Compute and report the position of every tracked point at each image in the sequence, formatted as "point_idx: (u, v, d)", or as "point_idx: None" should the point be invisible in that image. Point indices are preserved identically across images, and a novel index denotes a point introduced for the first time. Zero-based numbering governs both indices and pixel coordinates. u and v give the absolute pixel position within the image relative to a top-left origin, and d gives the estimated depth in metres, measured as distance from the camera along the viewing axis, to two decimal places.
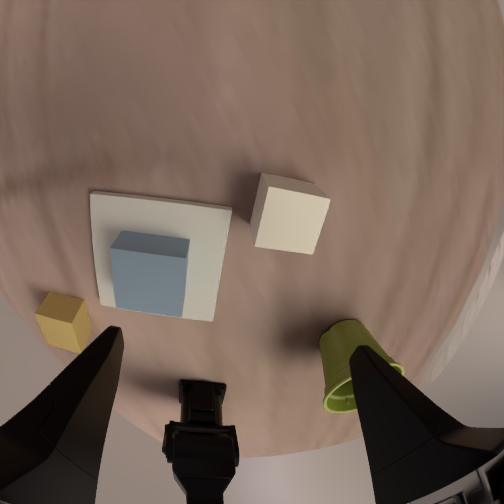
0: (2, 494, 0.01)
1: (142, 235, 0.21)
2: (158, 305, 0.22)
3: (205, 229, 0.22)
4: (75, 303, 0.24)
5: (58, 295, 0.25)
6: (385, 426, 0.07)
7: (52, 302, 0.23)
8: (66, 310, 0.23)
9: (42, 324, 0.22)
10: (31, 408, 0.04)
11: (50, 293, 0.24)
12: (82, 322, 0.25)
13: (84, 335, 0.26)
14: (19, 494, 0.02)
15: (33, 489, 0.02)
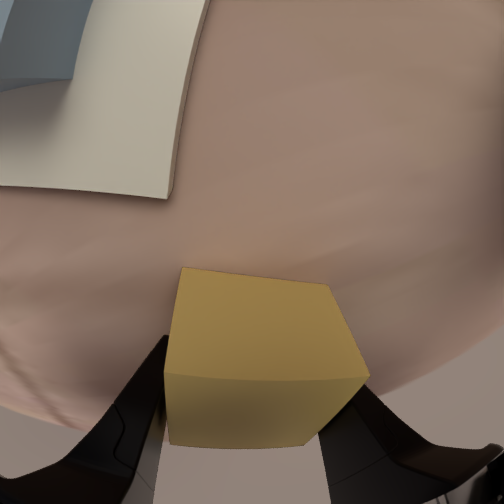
0: None
1: None
2: None
3: None
4: None
5: None
6: (339, 436, 0.07)
7: None
8: None
9: (211, 443, 0.07)
10: (99, 431, 0.04)
11: None
12: (253, 311, 0.07)
13: (311, 325, 0.07)
14: None
15: None
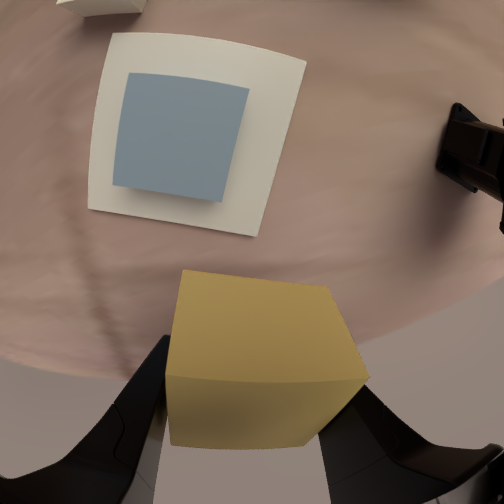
0: None
1: None
2: (219, 124, 0.12)
3: (133, 59, 0.12)
4: None
5: None
6: (339, 436, 0.07)
7: None
8: None
9: (211, 443, 0.07)
10: (99, 432, 0.04)
11: None
12: (253, 313, 0.07)
13: (311, 327, 0.07)
14: None
15: None
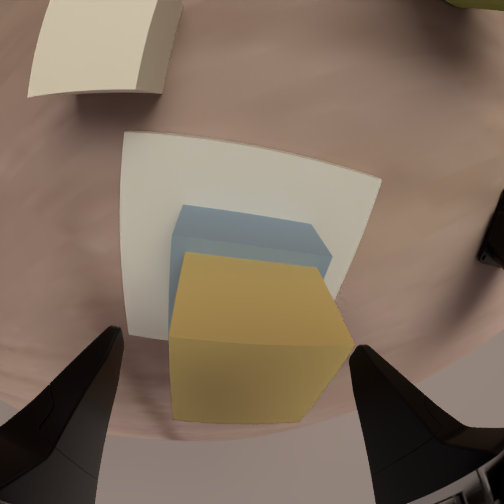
0: (2, 494, 0.01)
1: None
2: None
3: (161, 176, 0.11)
4: None
5: None
6: (385, 426, 0.07)
7: None
8: None
9: (211, 416, 0.08)
10: (31, 408, 0.04)
11: None
12: (248, 288, 0.08)
13: (300, 300, 0.08)
14: (19, 494, 0.02)
15: (33, 489, 0.02)
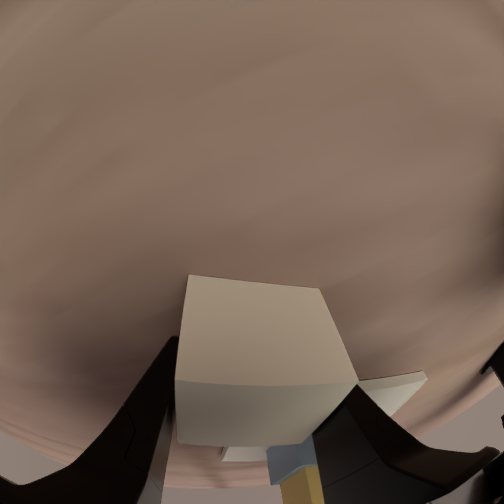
0: None
1: (273, 447, 0.15)
2: None
3: None
4: (303, 484, 0.11)
5: (287, 484, 0.13)
6: (332, 437, 0.07)
7: (288, 500, 0.12)
8: (302, 503, 0.10)
9: None
10: (109, 434, 0.04)
11: (282, 487, 0.13)
12: None
13: None
14: None
15: None
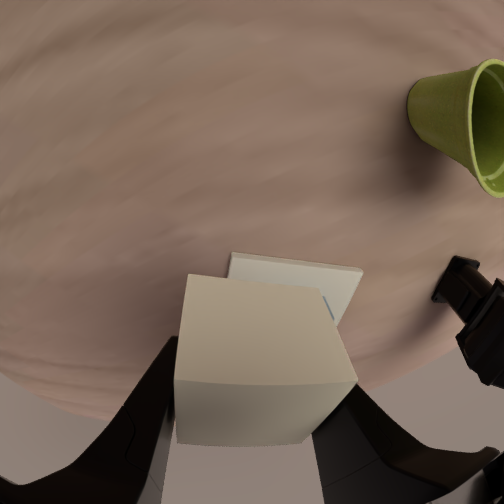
0: None
1: None
2: None
3: (251, 278, 0.23)
4: None
5: None
6: (332, 437, 0.07)
7: None
8: None
9: None
10: (109, 434, 0.04)
11: None
12: None
13: None
14: None
15: None
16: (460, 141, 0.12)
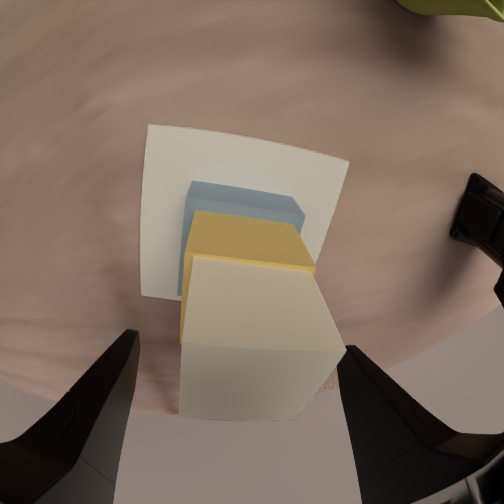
0: None
1: None
2: None
3: (176, 159, 0.14)
4: None
5: None
6: (371, 429, 0.07)
7: None
8: None
9: None
10: (51, 416, 0.04)
11: None
12: (240, 231, 0.12)
13: (278, 240, 0.12)
14: None
15: (59, 501, 0.02)
16: None
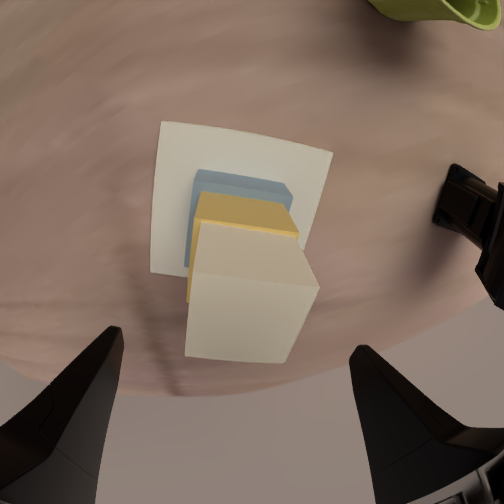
0: (2, 494, 0.01)
1: None
2: None
3: (185, 150, 0.17)
4: None
5: None
6: (385, 426, 0.07)
7: None
8: None
9: None
10: (31, 408, 0.04)
11: None
12: (238, 206, 0.14)
13: (269, 213, 0.14)
14: (19, 494, 0.02)
15: (33, 489, 0.02)
16: None
